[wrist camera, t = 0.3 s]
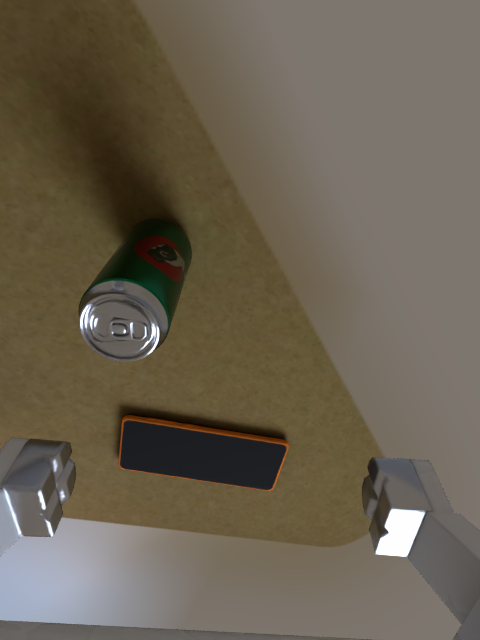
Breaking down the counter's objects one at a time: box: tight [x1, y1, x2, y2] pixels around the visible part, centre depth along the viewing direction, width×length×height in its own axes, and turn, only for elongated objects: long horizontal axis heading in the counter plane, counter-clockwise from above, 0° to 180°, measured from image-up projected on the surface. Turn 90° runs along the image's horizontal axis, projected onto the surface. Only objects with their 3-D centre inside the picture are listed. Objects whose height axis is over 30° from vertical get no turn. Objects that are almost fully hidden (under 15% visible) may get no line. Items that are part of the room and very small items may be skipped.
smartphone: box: [118, 415, 289, 491], centre depth 44 cm, size 8×17×1 cm, turn 79°
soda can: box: [79, 219, 192, 362], centre depth 28 cm, size 5×5×12 cm
